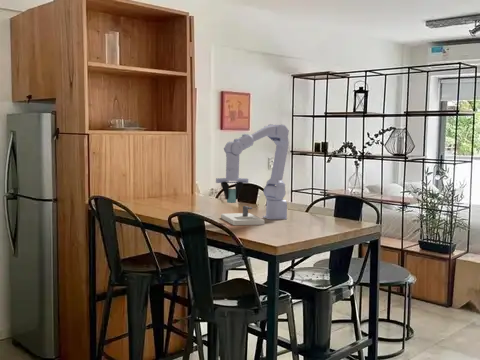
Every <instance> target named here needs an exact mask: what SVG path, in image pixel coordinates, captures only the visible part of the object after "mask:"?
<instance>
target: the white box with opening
mask: <svg viewBox="0 0 480 360" xmlns="http://www.w3.org/2000/svg"><path fill="white" fill-rule="evenodd" d="M249 210H253V207H252V206H248V205H243V206H242V212H240V213H239V212H237V213H220V219H221V220H223V221H225V222H227V223H229V224H230V225H232V226H256V225H257V226H259V225H265V219H263V218H261V217H259V216H256V215H254V214H252V213H250V212H249Z"/></svg>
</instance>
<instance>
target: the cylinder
mask: <svg viewBox="0 0 480 360" xmlns="http://www.w3.org/2000/svg"><path fill="white" fill-rule="evenodd" d="M236 201H237V199H236V189H235V188H230V187H229V189H228V199H226V203H229V204H235V203H237V202H236Z"/></svg>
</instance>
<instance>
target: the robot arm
mask: <svg viewBox="0 0 480 360" xmlns="http://www.w3.org/2000/svg"><path fill="white" fill-rule="evenodd" d="M289 131H290V130H289V128H288V127H287V126H286V125H285V124H282V123H280V124H271V123H270V124H268V125H264V127H262V128H259V129H258V130H257V131H255V132H253V133H252V134H248V133H243V134H242V135H241V136H240V137H239V138H234V140H233V141H228V142H227V143H226V144H225V146H224V147H223V150H224V152H225V157H226V159H225V160H226V161H225V162H226V163H225V164H226V165H225V177H223V178H222V177H221V178H218V177H217V178H215V183H216V184H220V186H221V187H222V190H223V194H224V199H225V200H227V199H228V189H230V185H229V184H234V187H235V188H234V189H236V200H239V196H240V193H241V191H242V188H243V186H244V184H249V178H242V177H241V178H240V177H239V175H240V155H241V154H242V152H243V151H244V150H246V149H248V148H250V147H252V146H253V145H254V142H256V141H259V140H261V139H263V138H265V137H267V138H268V139H270V140H271V141H272V142H273V143H274V144H275V145H276V148H275V150H274V151H275V152H274V158H273V164H272V168H271V175H270V177H269V179H268V180H267V181H266V184H265V186H264V188H263V195H264V196H265V199H266V201H265V202H266V207H265V215H262V217H263V218H264V219H267V220H287V219H288V217H287V216H288V202H287V200H286V199H284V198H285V196H286V184H285V182H284V180H283V177H284V171H285V166H286V162H287V155H288V150H289V144H290V141H289Z"/></svg>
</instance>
